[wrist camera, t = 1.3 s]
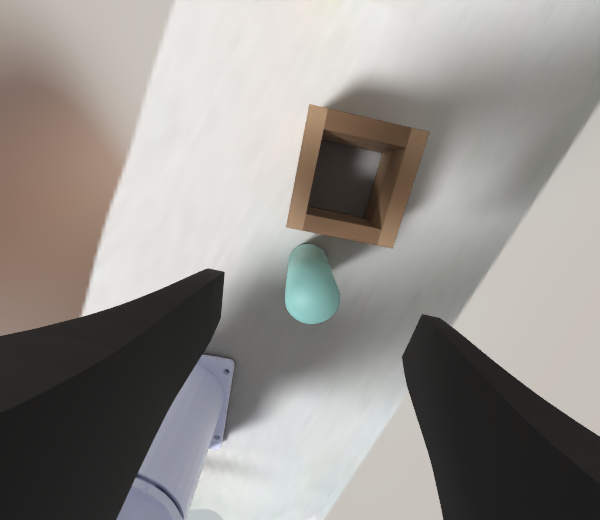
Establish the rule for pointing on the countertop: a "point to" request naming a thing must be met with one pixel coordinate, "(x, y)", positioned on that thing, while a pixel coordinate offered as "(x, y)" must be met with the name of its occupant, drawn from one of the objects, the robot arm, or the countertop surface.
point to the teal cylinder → (310, 285)
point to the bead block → (387, 186)
